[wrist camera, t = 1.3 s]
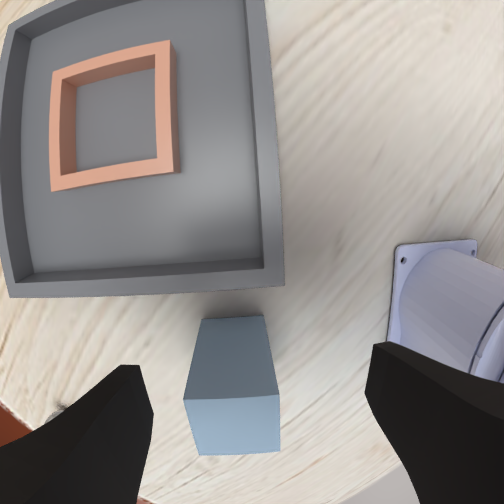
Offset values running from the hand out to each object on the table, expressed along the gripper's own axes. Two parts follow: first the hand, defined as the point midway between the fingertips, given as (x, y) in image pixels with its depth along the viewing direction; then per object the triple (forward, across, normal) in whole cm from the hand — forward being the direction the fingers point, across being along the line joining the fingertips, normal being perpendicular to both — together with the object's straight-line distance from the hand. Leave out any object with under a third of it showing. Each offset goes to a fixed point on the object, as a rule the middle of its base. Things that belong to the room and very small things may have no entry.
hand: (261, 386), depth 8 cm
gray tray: (+11, +7, -10) cm, 16 cm away
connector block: (+10, +1, +5) cm, 11 cm away
